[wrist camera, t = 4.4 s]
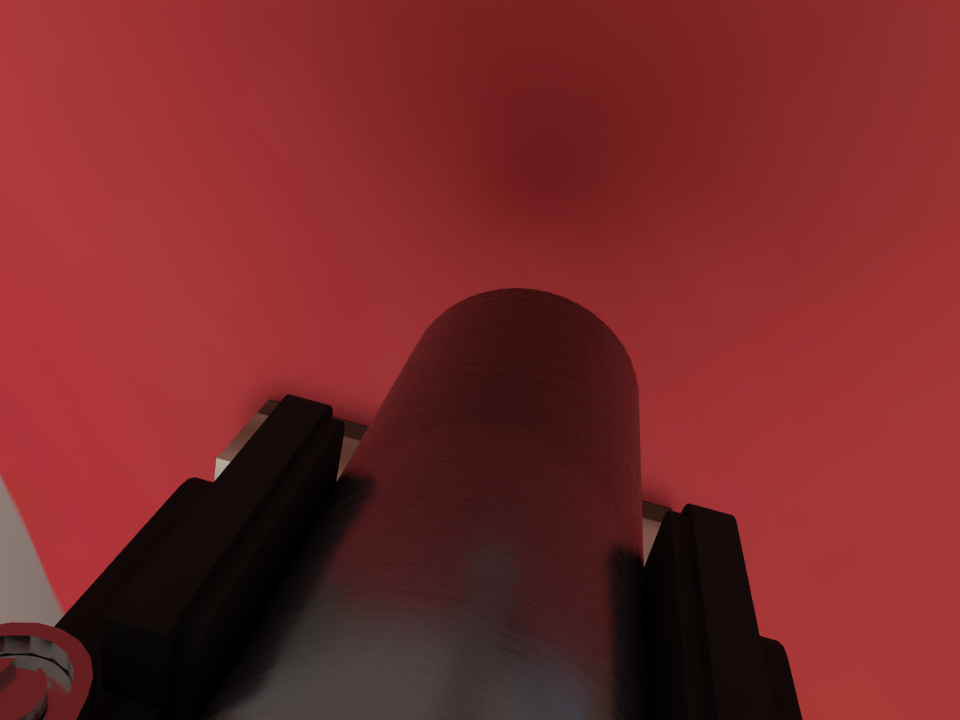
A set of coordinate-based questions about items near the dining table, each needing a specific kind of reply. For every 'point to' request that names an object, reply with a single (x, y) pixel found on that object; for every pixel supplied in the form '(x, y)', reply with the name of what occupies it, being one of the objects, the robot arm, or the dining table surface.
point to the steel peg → (471, 539)
